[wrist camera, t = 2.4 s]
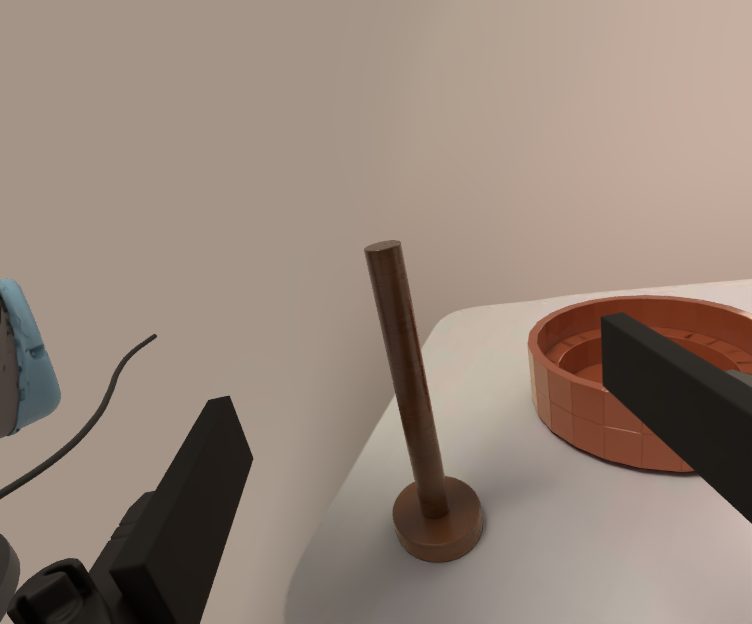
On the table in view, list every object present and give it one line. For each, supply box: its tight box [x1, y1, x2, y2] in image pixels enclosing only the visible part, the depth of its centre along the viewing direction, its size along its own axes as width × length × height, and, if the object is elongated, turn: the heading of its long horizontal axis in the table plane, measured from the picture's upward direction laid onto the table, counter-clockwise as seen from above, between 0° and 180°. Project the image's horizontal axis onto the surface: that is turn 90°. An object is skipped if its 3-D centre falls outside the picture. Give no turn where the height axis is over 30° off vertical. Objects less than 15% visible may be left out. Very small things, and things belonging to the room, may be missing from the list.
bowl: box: [528, 295, 752, 472], centre depth 36 cm, size 18×18×6 cm
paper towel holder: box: [364, 240, 483, 562], centre depth 27 cm, size 6×6×20 cm
